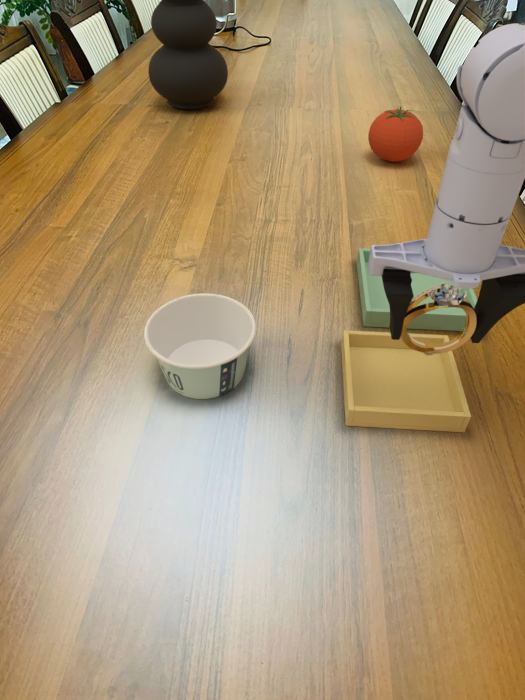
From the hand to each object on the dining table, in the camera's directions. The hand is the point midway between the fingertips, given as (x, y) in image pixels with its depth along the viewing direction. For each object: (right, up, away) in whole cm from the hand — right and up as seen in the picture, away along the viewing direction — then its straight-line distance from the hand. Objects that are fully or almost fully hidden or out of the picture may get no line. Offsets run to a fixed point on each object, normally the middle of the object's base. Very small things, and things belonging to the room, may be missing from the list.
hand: (433, 334), depth 50 cm
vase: (-34, +58, +75) cm, 101 cm away
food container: (-23, -4, +10) cm, 26 cm away
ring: (0, -2, +2) cm, 3 cm away
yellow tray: (-1, -6, +8) cm, 10 cm away
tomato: (+9, +36, +51) cm, 64 cm away
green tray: (+4, +6, +20) cm, 21 cm away
